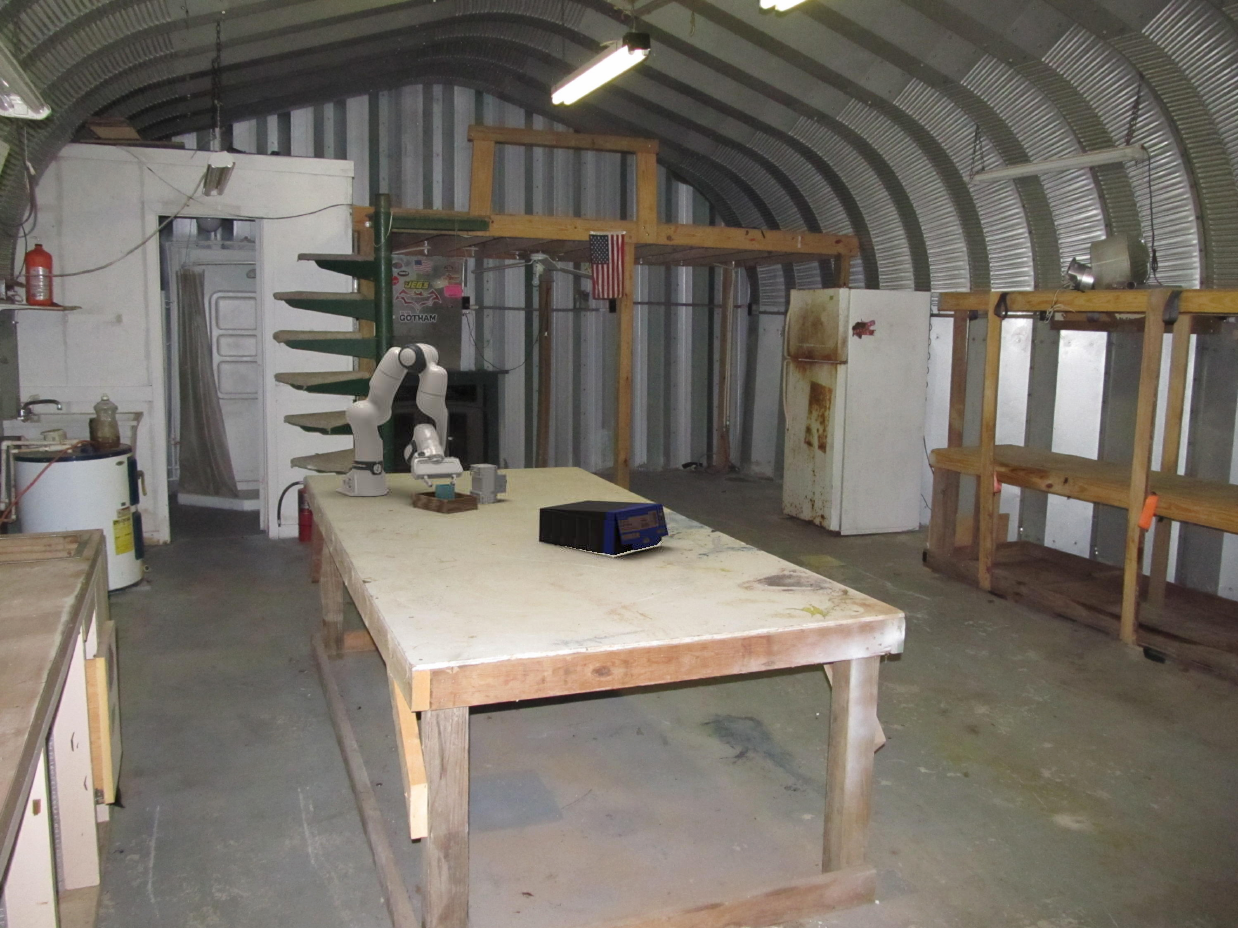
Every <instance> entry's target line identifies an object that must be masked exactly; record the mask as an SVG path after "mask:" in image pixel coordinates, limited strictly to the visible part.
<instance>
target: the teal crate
mask: <svg viewBox="0 0 1238 928" xmlns="http://www.w3.org/2000/svg"><path fill="white" fill-rule="evenodd" d="M455 486H456V485H455ZM455 486H453V485H451V484H450V483H441V484H440V483H439V484H435V488H434V489H435V490H434V491H435V498H438V499H443V500H451V499H455V492H456V489H455V488H456V487H455Z"/></svg>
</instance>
